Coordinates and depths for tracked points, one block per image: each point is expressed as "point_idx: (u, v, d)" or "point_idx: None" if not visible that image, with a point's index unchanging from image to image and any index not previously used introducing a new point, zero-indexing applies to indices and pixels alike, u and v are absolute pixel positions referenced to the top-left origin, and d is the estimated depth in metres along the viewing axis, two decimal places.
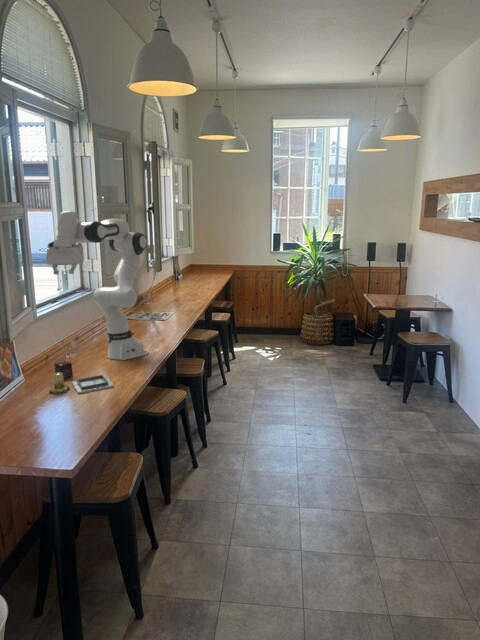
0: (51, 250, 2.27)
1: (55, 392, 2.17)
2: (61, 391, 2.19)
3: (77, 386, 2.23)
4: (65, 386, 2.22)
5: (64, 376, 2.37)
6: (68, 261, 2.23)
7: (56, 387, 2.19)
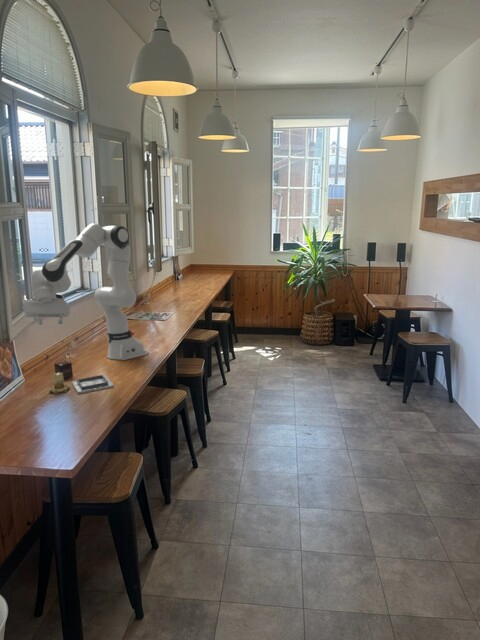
0: None
1: (55, 392, 2.17)
2: (61, 391, 2.19)
3: (77, 386, 2.23)
4: (65, 386, 2.22)
5: (64, 376, 2.37)
6: None
7: (56, 387, 2.19)
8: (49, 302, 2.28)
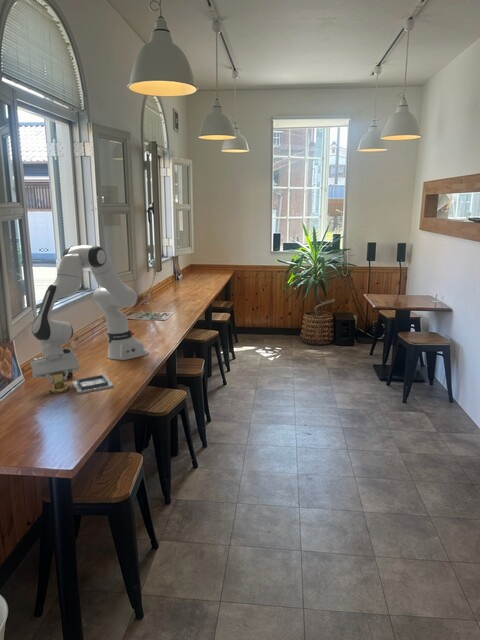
0: None
1: (55, 392, 2.17)
2: (61, 391, 2.19)
3: (77, 386, 2.23)
4: (65, 386, 2.22)
5: None
6: None
7: (56, 387, 2.19)
8: (56, 359, 2.23)
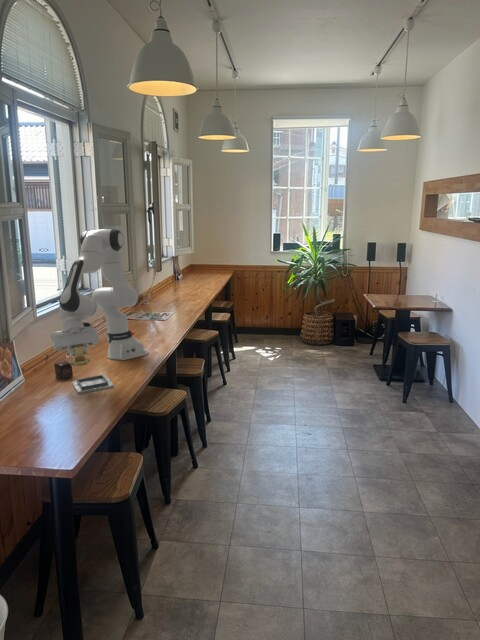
0: None
1: (76, 364, 2.19)
2: (82, 363, 2.20)
3: (77, 386, 2.23)
4: (85, 359, 2.24)
5: (64, 376, 2.37)
6: None
7: (77, 360, 2.21)
8: (77, 332, 2.25)
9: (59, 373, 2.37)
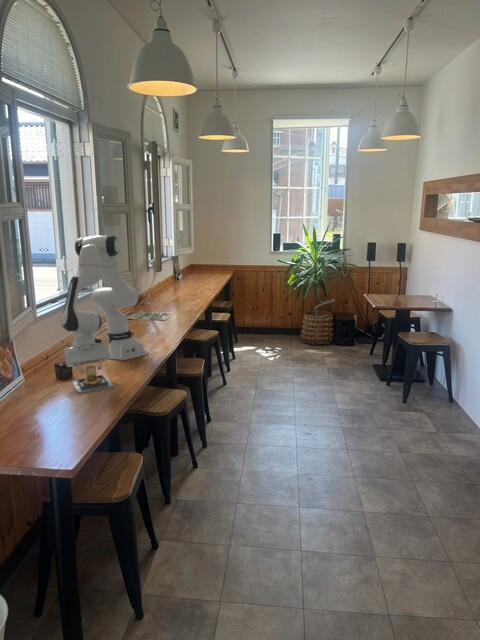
0: None
1: (88, 385, 2.22)
2: None
3: (77, 386, 2.23)
4: (97, 379, 2.27)
5: (64, 376, 2.37)
6: None
7: (89, 380, 2.24)
8: (88, 348, 2.28)
9: (59, 373, 2.37)
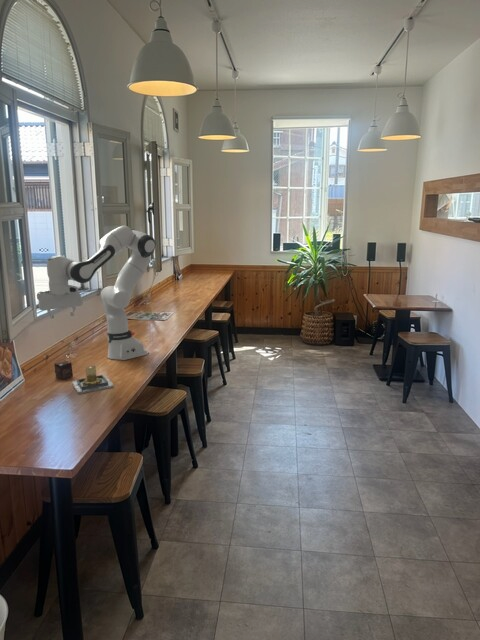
0: None
1: (88, 385, 2.22)
2: None
3: (77, 386, 2.23)
4: (97, 379, 2.27)
5: (64, 376, 2.37)
6: None
7: (89, 380, 2.24)
8: (62, 296, 2.35)
9: (59, 373, 2.37)
